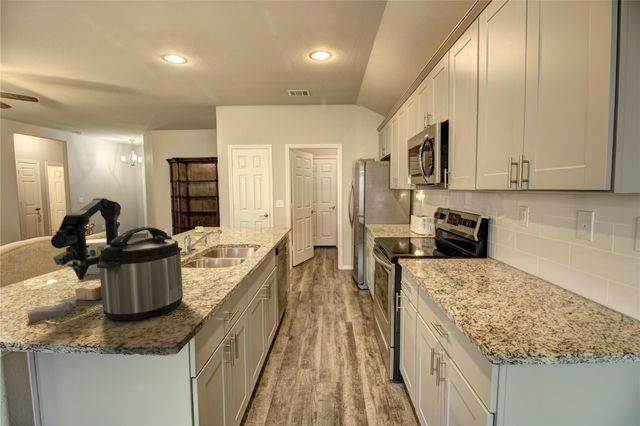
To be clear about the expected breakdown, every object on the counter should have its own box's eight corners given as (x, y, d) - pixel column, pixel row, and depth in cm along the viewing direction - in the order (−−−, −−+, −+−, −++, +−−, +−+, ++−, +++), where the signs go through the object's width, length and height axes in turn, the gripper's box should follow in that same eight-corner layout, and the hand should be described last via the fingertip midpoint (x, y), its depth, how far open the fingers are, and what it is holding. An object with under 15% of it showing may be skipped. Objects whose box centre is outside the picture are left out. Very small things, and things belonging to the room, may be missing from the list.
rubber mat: (92, 291, 139) (91, 290, 139) (121, 295, 134) (121, 294, 134) (57, 302, 126) (57, 301, 126) (88, 307, 120) (88, 306, 120)
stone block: (35, 319, 116) (26, 324, 107) (36, 306, 116) (26, 310, 107) (75, 313, 121) (69, 317, 112) (75, 301, 122) (69, 304, 113)
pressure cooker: (173, 289, 140) (169, 221, 137) (198, 307, 119) (193, 226, 116) (92, 308, 119) (85, 228, 116) (105, 334, 99) (97, 237, 96)
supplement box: (81, 275, 165) (78, 243, 164) (89, 269, 177) (87, 239, 176) (110, 272, 170) (108, 241, 168) (116, 266, 182) (114, 237, 181)
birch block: (89, 284, 134) (107, 284, 130) (91, 294, 134) (109, 294, 130) (74, 288, 128) (93, 288, 124) (76, 299, 128) (95, 299, 125)
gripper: (40, 246, 124) (44, 283, 126) (72, 248, 118) (75, 287, 120) (70, 241, 135) (73, 275, 136) (100, 243, 129) (103, 279, 130)
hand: (80, 279), depth 130 cm, fingers closed
